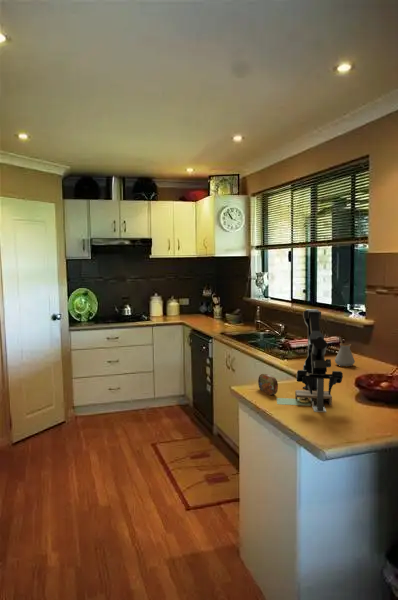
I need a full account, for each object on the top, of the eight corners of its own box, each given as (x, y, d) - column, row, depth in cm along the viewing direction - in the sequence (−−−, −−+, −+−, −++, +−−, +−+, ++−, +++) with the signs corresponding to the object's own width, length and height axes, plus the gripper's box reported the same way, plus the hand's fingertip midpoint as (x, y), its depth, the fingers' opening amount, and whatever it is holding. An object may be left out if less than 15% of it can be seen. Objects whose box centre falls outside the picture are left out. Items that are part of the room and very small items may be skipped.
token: (298, 400, 208) (299, 397, 208) (308, 400, 207) (308, 397, 207) (299, 403, 203) (299, 400, 203) (309, 403, 203) (310, 400, 203)
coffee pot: (356, 367, 269) (357, 342, 268) (336, 367, 270) (337, 342, 269) (347, 359, 290) (348, 336, 289) (329, 359, 291) (329, 336, 290)
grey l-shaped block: (310, 400, 207) (311, 370, 206) (321, 401, 207) (322, 370, 205) (314, 411, 193) (314, 379, 191) (326, 412, 192) (327, 379, 191)
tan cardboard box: (295, 398, 211) (295, 390, 210) (329, 399, 209) (329, 391, 208) (296, 404, 203) (296, 395, 202) (331, 405, 201) (331, 396, 200)
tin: (257, 388, 227) (257, 372, 226) (263, 388, 228) (263, 371, 227) (272, 397, 213) (273, 379, 212) (278, 396, 214) (279, 378, 213)
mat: (276, 398, 211) (276, 397, 211) (308, 399, 209) (308, 399, 209) (277, 404, 202) (277, 404, 202) (310, 405, 200) (310, 405, 200)
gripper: (297, 351, 197) (299, 383, 187) (342, 352, 194) (346, 385, 184) (295, 365, 205) (297, 396, 195) (339, 366, 203) (342, 398, 193)
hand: (320, 394), depth 192 cm, fingers open, 7 cm apart
